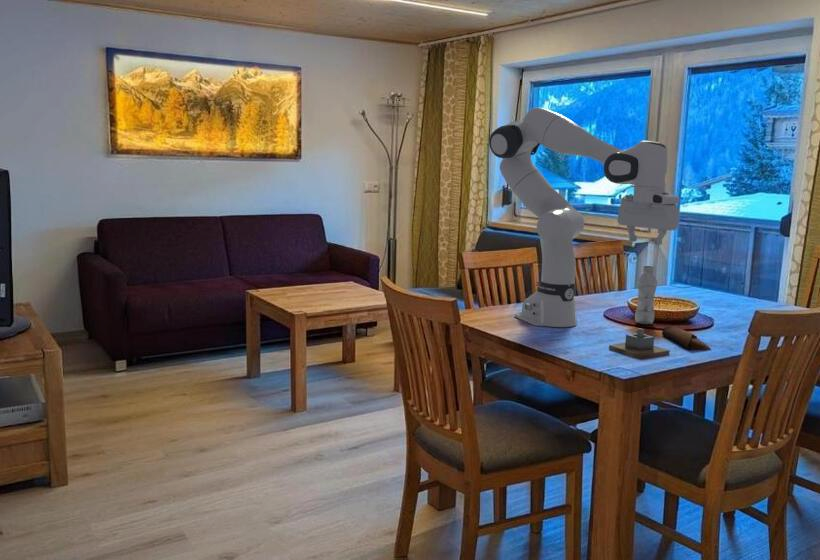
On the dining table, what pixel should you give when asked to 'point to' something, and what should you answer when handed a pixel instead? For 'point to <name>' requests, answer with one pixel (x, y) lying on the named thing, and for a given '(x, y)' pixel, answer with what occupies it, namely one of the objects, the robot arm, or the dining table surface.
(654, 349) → the rod on square base
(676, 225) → the robot arm
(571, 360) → the dining table surface
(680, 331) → the brown tapered cylinder
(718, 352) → the dining table surface
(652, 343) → the ring
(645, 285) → the plastic bottle
